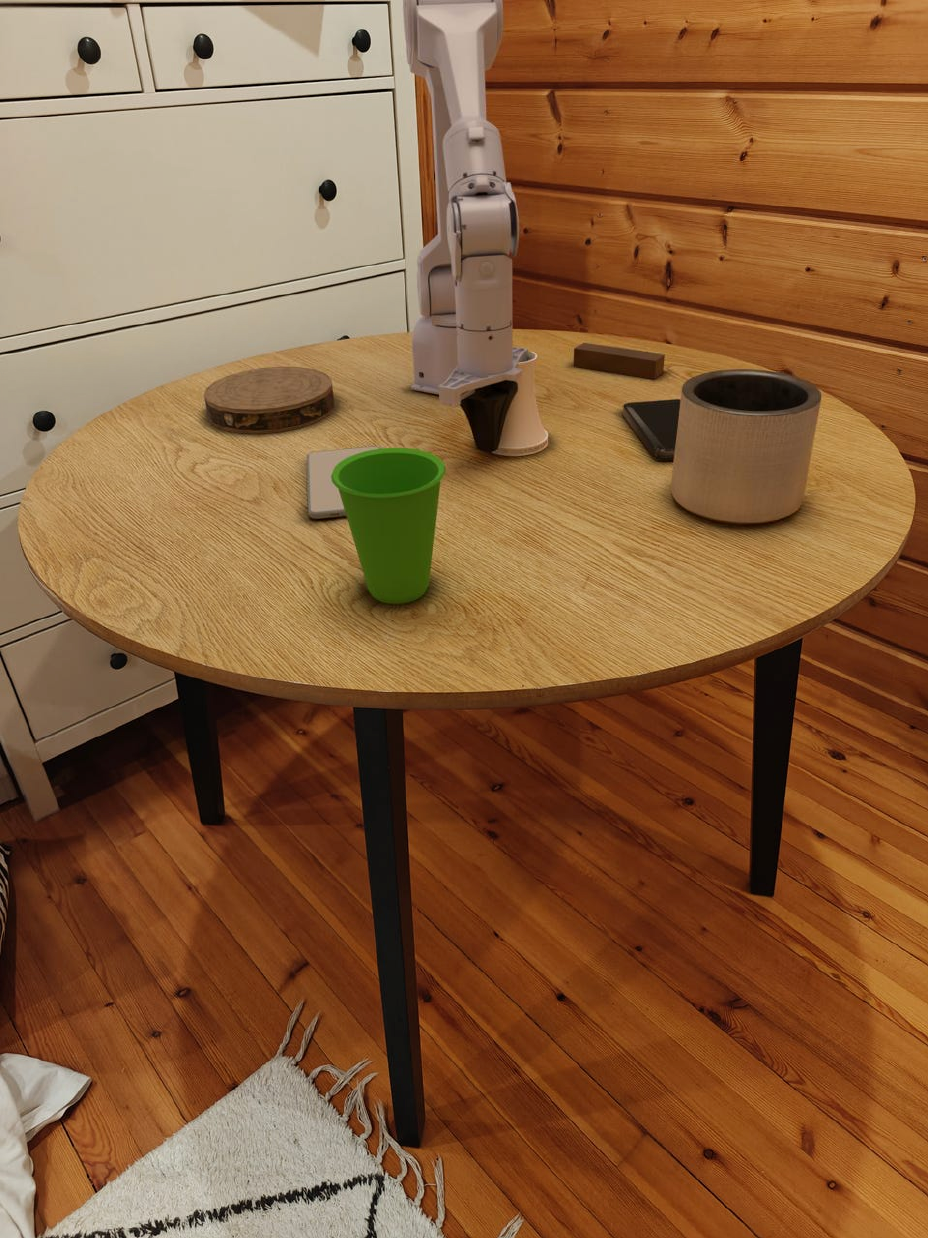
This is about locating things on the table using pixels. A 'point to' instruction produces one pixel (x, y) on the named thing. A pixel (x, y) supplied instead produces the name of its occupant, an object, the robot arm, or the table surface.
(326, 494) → the smartphone
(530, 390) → the vase
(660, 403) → the black beveled tile
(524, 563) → the table surface
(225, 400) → the wood slice
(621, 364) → the bar
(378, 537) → the cup
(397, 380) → the table surface
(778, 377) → the planter
